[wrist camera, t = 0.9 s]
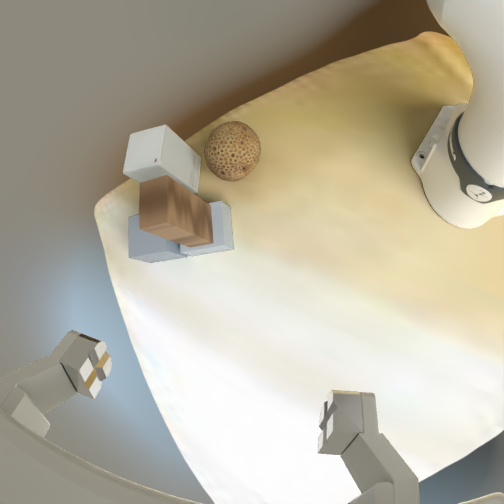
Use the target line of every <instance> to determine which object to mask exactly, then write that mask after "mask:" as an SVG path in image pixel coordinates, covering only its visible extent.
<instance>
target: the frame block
mask: <svg viewBox="0 0 504 504" xmlns="http://www.w3.org/2000/svg"><path fill="white" fill-rule="evenodd" d="M139 229H140V230H143V231H146V232H149V233H151V234H154V235H157V236H160V237H162V238H165V239H168V240H171V241H173V242H176V243H179V244H182V245H184V246H187V247H196V246H201V245H207V244H213V243H214V242H213V228H212V214H211V205H209V204H208V203H207V202H205V201H204V200H202V199H201V198H200V197H198V196H197V195H195V194H194V193H192V192H191V191H190V190H188V189H187V188H185V187H184V186H182V185H181V184H180V183H178V182H177V181H175V180H174V179H172V178H171V177H170V176H168V175H164V176H161V177H157V178H154V179H151V180H148V181H145V182H142V183H140V208H139Z"/></svg>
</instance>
